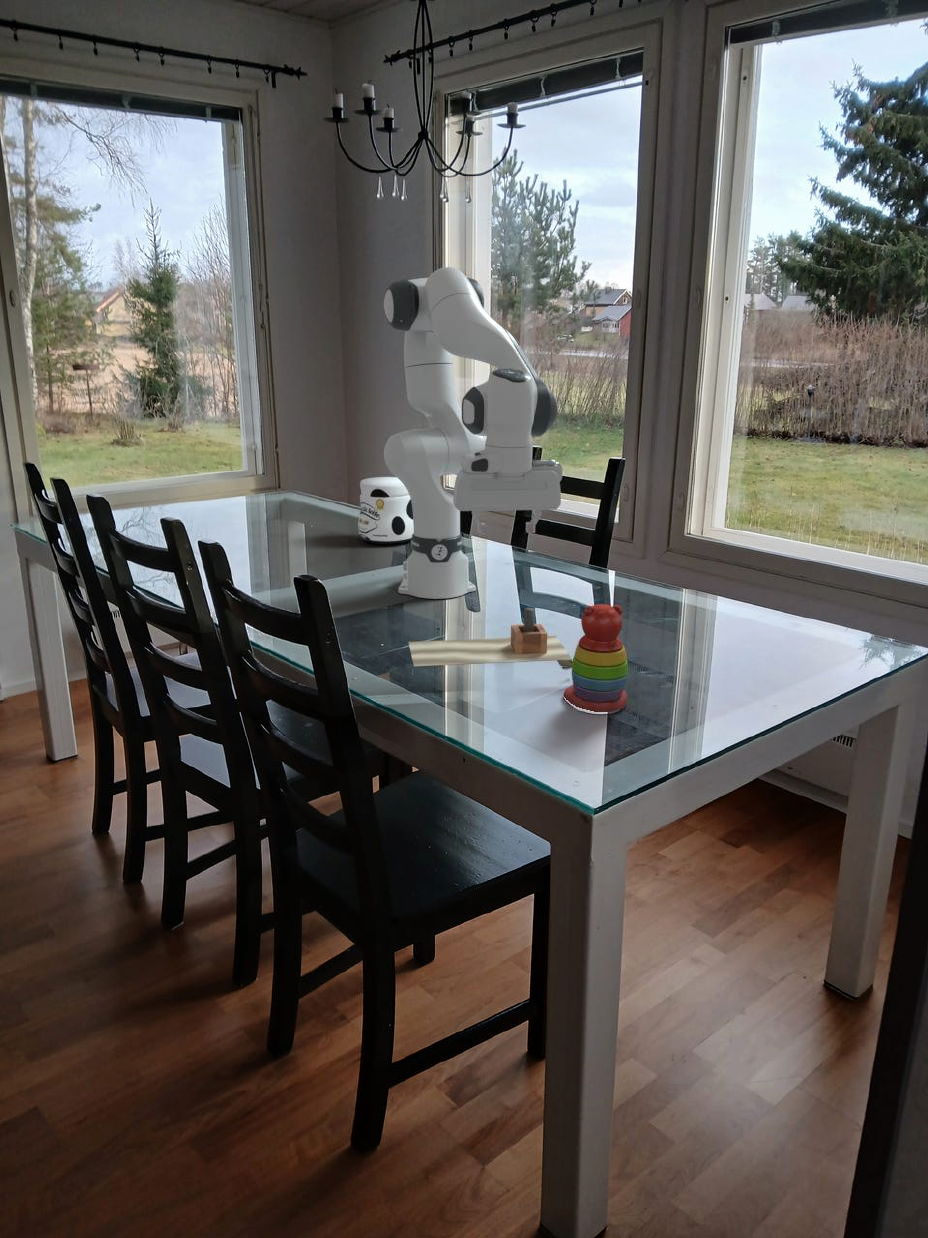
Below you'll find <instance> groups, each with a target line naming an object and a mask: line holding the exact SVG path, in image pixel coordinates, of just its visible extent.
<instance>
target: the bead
mask: <svg viewBox="0 0 928 1238" xmlns="http://www.w3.org/2000/svg"><path fill="white" fill-rule="evenodd" d="M547 636H548V631H547V630H546V629H545V627H544V626H543V625H542V624H541V623H534V632H524V624H511V625H510V638H511V646H512V648H513V650H514V651H515V653H516V654H538V653H547Z"/></svg>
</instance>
